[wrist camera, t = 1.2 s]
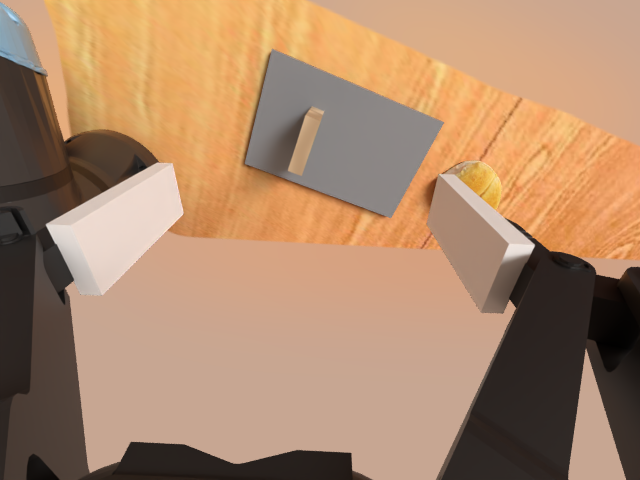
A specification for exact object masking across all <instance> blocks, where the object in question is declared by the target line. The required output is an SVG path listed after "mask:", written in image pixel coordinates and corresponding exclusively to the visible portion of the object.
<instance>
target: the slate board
mask: <svg viewBox="0 0 640 480" xmlns="http://www.w3.org/2000/svg"><path fill="white" fill-rule="evenodd" d="M312 106H313V107H315V108H318V109H320V110H322V111H324V113H323V116H322V119H321V123H320V126H319V129H318V132H317V135H316V137H315V140H314V143H313V146H312V149H311V152H310V155H309V157H308V160H307V163H306V166H305V168H304V171H303V174H302V176H300V175H298V174H295V173H292V172H290V171H288V168H289V165H290V162H291V159H292V156H293V153H294V150H295V147H296V143H297V140H298V137H299V134H300V131H301V128H302V125H303V122H304V118H305V115H306V114H307V112H308V111H309V110H310V108H311V107H312ZM443 124H444V122H442V121H440V120H438V119H435V118H433V117H431V116H428V115H426V114H424V113H421V112H419V111H417V110H414V109H412V108H410V107H407V106H405V105H403V104H400V103H398V102H396V101H393V100H391V99H389V98H386V97H384V96H382V95H379V94H377V93H375V92H372V91H370V90H368V89H365V88H363V87H361V86H358V85H356V84H354V83H351V82H349V81H347V80H344V79H342V78H340V77H337V76H335V75H333V74H330V73H328V72H326V71H323V70H321V69H319V68H316V67H314V66H312V65H309V64H307V63H305V62H302V61H300V60H298V59H295V58H293V57H291V56H288V55H286V54H284V53H281V52H279V51H277V50H274V49H272V52H271V56H270V60H269V64H268V68H267V72H266V77H265V81H264V85H263V89H262V93H261V98H260V102H259V106H258V110H257V114H256V118H255V123H254V127H253V131H252V135H251V139H250V143H249V148H248V152H247V156H246V160H245V164H246V165H249V166H252V167H255V168H257V169H260V170H263V171H265V172H268V173H271V174H273V175H276V176H279V177H282V178H284V179H287V180H290V181H292V182H295V183H298V184H300V185H303V186H306V187H308V188H311V189H314V190H317V191H319V192H322V193H325V194H327V195H330V196H333V197H335V198H338V199H341V200H344V201H346V202H349V203H352V204H354V205H357V206H360V207H362V208H365V209H368V210H370V211H373V212H376V213H379V214H381V215H384V216H387V217H389V218H391V217H392V216H393V214H394V212H395V210H396V208H397V207H398V205H399V203H400V201H401V199H402V197H403V196H404V194H405V192H406V190H407V188H408V187H409V185H410V183H411V181H412V179H413V178H414V176H415V174H416V172H417V170H418V169H419V167H420V165H421V163H422V161H423V160H424V158H425V156H426V154H427V152H428V151H429V149H430V147H431V145H432V143H433V142H434V140H435V138H436V136H437V134H438V133H439V131H440V129H441V127H442V125H443Z"/></svg>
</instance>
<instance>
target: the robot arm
mask: <svg viewBox="0 0 640 480" xmlns="http://www.w3.org/2000/svg"><path fill="white" fill-rule="evenodd" d="M46 76H48V75H47V72H46V70H45V69H44V68H43V67H42V64H41V62H40V59H39V56H38V53H37V51H36V48H35V45H34V42H33V39H32V36H31V33H30V31H29V29H28V27H27V25H26V24H25V22H24V21H23V20H22V19H21V17H20V16H19V15H18V14H17V13H16V12H14V11H13V10H12V9H10V8H9V7H8V6H6V5H4V4H3V3H1V2H0V480H372V479H370V478H368V477H366V476H364V475H362V474H360V473H357V472H354V471H352V458H351V453H342V452H323V451H303V450H296V451H292V452H287V453H283V454H279V455H275V456H271V457H267V458H263V459H259V460H255V461H251V462H246V463H242V464H233V463H230V462H227V461H225V460H223V459H220V458H217V457H215V456H212V455H210V454H207V453H204V452H202V451H200V450H197V449H195V448H192V447H189V446H187V445H183V444H164V443H144V442H131V443H130V445H129V447H128V448H127V451H126V452H125V454H124V456H123V458H122V459H121V462H117V463H114V464H112V465H109V466H106V467H103V468H101V469H98V470H96V471H94V472H92V473H89V469H88V464H87V455H86V446H85V437H84V427H83V418H82V409H81V400H80V391H79V381H78V372H77V363H76V353H75V344H74V335H73V326H72V316H71V308H70V298H69V295H68V294H67V292H66V290H65V287H67V286H68V285H69V284H70V283H71V282H73V281H74V282H75V285H76V287H77V289H78V291H79V293H80V295H101V296H102V295H103V294H104V293H105V292H106V291H107V290H108V289H109V288H110V287H111V286H112V285H113V284H114V283H115V282H116V281H117V280H118V279H119V278H120V277H121V276H122V275H123V274H124V273H125V272H126V271H127V270H128V269H129V268H130V267H131V266H132V265H133V264H134V263H135V262H136V261H137V260H138V259H139V258H140V257H141V256H142V255H143V254H144V253H145V252H146V251H147V250H148V249H149V248H150V247H151V246H152V245H153V244H154V243H155V242H156V241H157V240H158V239H159V238H160V237H161V236H162V235H163V234H164V233H165V232H166V231H167V230H168V229H169V228H170V227H171V226H172V225H173V224H174V223H175V222H176V221H177V220H178V219H179V218H180V217H181V216H182V215H183V214H184V213H183V208H182V204H181V199H180V195H179V190H178V186H177V181H176V177H175V173H174V168H173V164H172V163H159V162H158V160H157V159H156V158H155V157H154V156H153V154H152V153H151V152H150V151H149V150H147V149H146V148H145V147H144V146H143V145H141V144H140V143H139V142H137V141H135V140H134V139H132V138H130V137H128V136H126V135H124V134H121V133H118V132H115V131H110V130H92V131H88V132H84V133H80V134H77V135H74V136H72V137H70V138H69V139H67V140H66V141H64V140H63V136H62V133H61V130H60V126H59V123H58V120H57V116H56V112H55V109H54V105H53V101H52V98H51V94H50V90H49V87H48V83H47V80H46ZM427 226H428V227H429V229H430V230H431V232H432V234H433V235H434V237H435V239H436V240H437V242H438V244H439V245H440V247H441V248H442V250H443V252H444V253H445V255H446V257H447V258H448V260H449V262H450V263H451V265H452V266H453V268H454V270H455V271H456V273H457V275H458V276H459V278H460V280H461V281H462V283H463V284H464V286H465V288H466V289H467V291H468V293H469V294H470V296H471V298H472V299H473V301H474V302H475V304H476V306H477V307H478V309H479V310H480V312H482V313H504V310H505V308H506V306H507V304H508V302H509V300H511V302H512V303H513V304H514V306H515V307H516V310H515V312H514V314H513V316H512V318H511V320H510V322H509V324H508V326H507V328H506V330H505V333H504V335H503V338H502V339H501V342H500V344H499V346H498V348H497V350H496V352H495V354H494V357H493V359H492V361H491V363H490V365H489V367H488V369H487V372H486V374H485V376H484V378H483V380H482V382H481V384H480V387H479V389H478V391H477V393H476V395H475V397H474V399H473V402H472V404H471V406H470V408H469V410H468V412H467V415H466V417H465V419H464V421H463V423H462V425H461V427H460V429H459V432H458V434H457V436H456V438H455V440H454V442H453V445H452V447H451V449H450V451H449V453H448V455H447V457H446V459H445V462H444V464H443V466H442V468H441V470H440V472H439V474H438V477H437V479H436V480H568V470H569V464H570V456H571V449H572V442H573V435H574V428H575V421H576V414H577V407H578V399H579V391H580V385H581V378H582V371H583V364H584V356H585V349H587V352H588V356H589V359H590V362H591V365H592V369H593V372H594V375H595V378H596V382H597V385H598V388H599V392H600V395H601V398H602V402H603V405H604V408H605V411H606V415H607V418H608V421H609V425H610V428H611V431H612V434H613V438H614V441H615V444H616V448H617V451H618V454H619V457H620V461H621V464H622V467H623V470H624V474H625V477H626V480H640V267H630V268H628V269H627V270H626V271H625V273H624V274H623V275H622V277H621V278H620V279H615V278H610V277H605V276H600V275H596V270H595V268H594V267H593V266H592V265H591V264H589V263H588V262H586V261H584V260H583V259H581V258H578V257H576V256H573V255H570V254H566V253H562V252H554V251H551V252H550V251H549V250H548V249H546V248H545V247H544V246H543V245H542V244H541V243H539V242H538V241H537V240H536V239H535V238H532V236H531V235H530V234H529V233H527V232H526V231H525V230H524V229H523V228H522V227H520V226H519V225H518V224H516V223H514V222H512V221H510V220H508V219H506V218H504V217H502V216H501V215H500V214H499V213H498V212H497V211H496V210H494V209H493V208H492V207H491V206H490V205H489V204H487V203H486V202H485V201H484V200H483V199H482V198H481V197H479V196H478V195H477V194H476V193H475V192H474V191H473V190H471V189H470V188H469V187H468V186H467V185H466V184H465V183H463V182H462V181H461V180H460V179H459V178H458V177H456V176H455V175H454V174H438V178H437V182H436V187H435V191H434V195H433V199H432V203H431V207H430V212H429V216H428V220H427Z"/></svg>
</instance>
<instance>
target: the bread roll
mask: <svg viewBox="0 0 640 480" xmlns="http://www.w3.org/2000/svg"><path fill="white" fill-rule="evenodd" d="M444 174H454V175H455V176H456V177H458V178H459V179H460V180H461V181H462V182H463V183H465V184H466V185H467V186H468V187H469V188H470V189H471V190H473V191H474V192H475V193H476V194H477V195H478V196H479V197H481V198H482V199H483V200H484V201H485V202H486V203H487V204H489V205H490V206H491V207H492V208H493V209H494V210H496V209H497V207H498V205H499V202H500V199H501V192H502V187H501V182H500V180H499V178H498V176H497V175H496V173H495V172H494V170H493V169H492V168H491V167H490V166H489V165H487V164H486V163H484V162H481V161H478V160H473V161H464V162H462V163H460V164H458V165H456V166H454V167H452V168H451V169H449V170H448V171H447V172H445V173H444ZM434 191H435V190H434Z"/></svg>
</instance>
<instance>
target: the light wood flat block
mask: <svg viewBox="0 0 640 480" xmlns="http://www.w3.org/2000/svg"><path fill="white" fill-rule="evenodd" d="M323 113H324V111H322V110H320V109H318V108H315V107H313V106H312V107H311V108H310V110H309V111H308V112H307V114H306V115H305V118H304V122H303V125H302V128H301V131H300V134H299V137H298V140H297V143H296V147H295V150H294V153H293V156H292V159H291V162H290V165H289V168H288V171H290V172H292V173H295V174H298V175H300V176H302V174H303V171H304V168H305V166H306V163H307V160H308V157H309V155H310V152H311V149H312V146H313V143H314V140H315V137H316V135H317V132H318V129H319V126H320V123H321V119H322V116H323Z"/></svg>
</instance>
